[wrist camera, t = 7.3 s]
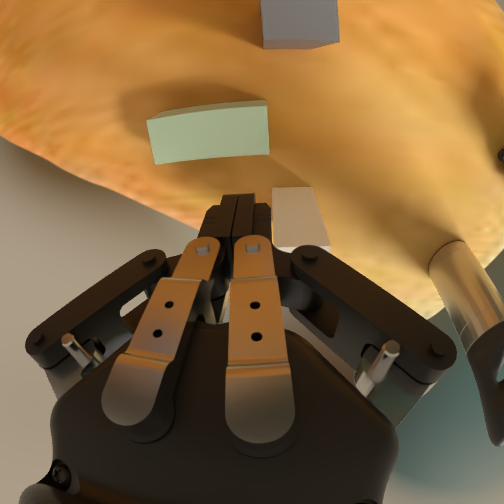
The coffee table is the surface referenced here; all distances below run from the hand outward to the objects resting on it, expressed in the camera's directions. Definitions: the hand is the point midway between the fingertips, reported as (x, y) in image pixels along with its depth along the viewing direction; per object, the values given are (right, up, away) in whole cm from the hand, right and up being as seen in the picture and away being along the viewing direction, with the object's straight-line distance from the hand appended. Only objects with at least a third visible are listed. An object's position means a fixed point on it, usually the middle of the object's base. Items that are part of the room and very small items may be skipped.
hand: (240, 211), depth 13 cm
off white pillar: (+6, +4, +22) cm, 23 cm away
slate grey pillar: (+4, +21, +8) cm, 23 cm away
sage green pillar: (+2, +11, +13) cm, 18 cm away
